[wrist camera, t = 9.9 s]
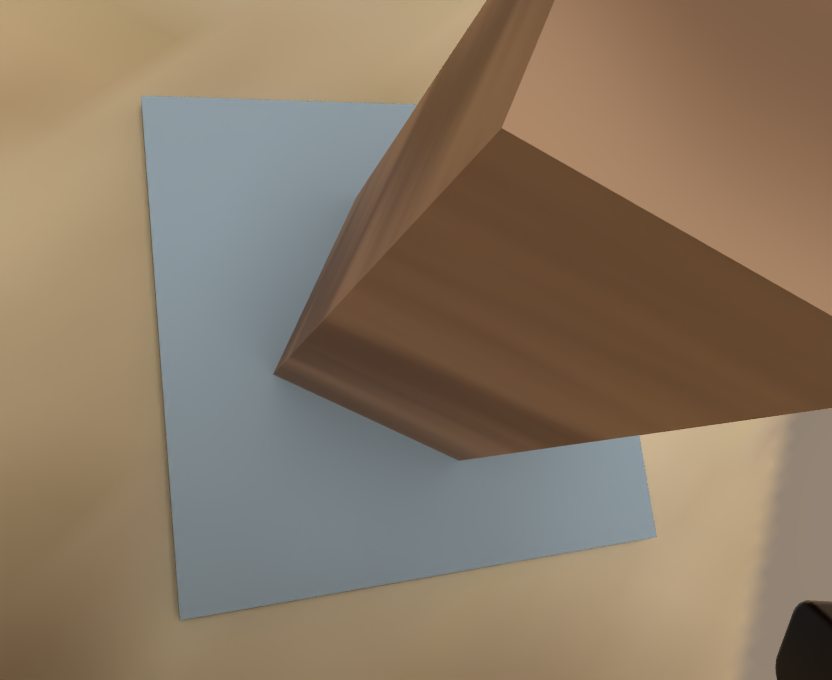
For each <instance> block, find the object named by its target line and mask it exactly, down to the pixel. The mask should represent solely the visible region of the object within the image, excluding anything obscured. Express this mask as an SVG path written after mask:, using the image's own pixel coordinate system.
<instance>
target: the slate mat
mask: <svg viewBox="0 0 832 680" xmlns="http://www.w3.org/2000/svg"><path fill="white" fill-rule="evenodd" d="M141 104H142V120H143V133H144V147H145V160H146V174H147V187H148V201H149V214H150V228H151V241H152V255H153V268H154V282H155V295H156V309H157V322H158V336H159V349H160V363H161V376H162V390H163V403H164V417H165V430H166V444H167V457H168V471H169V484H170V498H171V511H172V525H173V538H174V552H175V565H176V579H177V592H178V606H179V617H180V620H185V619H191V618H197V617H203V616H208V615H214V614H220V613H226V612H231V611H237V610H243V609H248V608H254V607H260V606H266V605H271V604H277V603H283V602H288V601H294V600H300V599H306V598H311V597H317V596H323V595H329V594H334V593H340V592H346V591H351V590H357V589H363V588H369V587H374V586H380V585H386V584H391V583H397V582H403V581H409V580H414V579H420V578H426V577H432V576H437V575H443V574H449V573H454V572H460V571H466V570H472V569H477V568H483V567H489V566H494V565H500V564H506V563H512V562H517V561H523V560H529V559H534V558H540V557H546V556H552V555H557V554H563V553H569V552H575V551H580V550H586V549H592V548H597V547H603V546H609V545H615V544H620V543H626V542H632V541H637V540H643V539H649V538H655V537H657V536H656V530H655V525H654V519H653V513H652V507H651V501H650V495H649V489H648V484H647V478H646V472H645V466H644V460H643V454H642V448H641V442H640V437H639V435H637V436H630V437H623V438H616V439H609V440H602V441H595V442H588V443H581V444H574V445H567V446H560V447H553V448H546V449H539V450H532V451H524V452H517V453H510V454H503V455H496V456H489V457H482V458H475V459H468V460H461V461H459V460H456V459H454V458H452V457H450V456H448V455H446V454H443V453H441V452H439V451H437V450H435V449H433V448H431V447H428V446H426V445H424V444H422V443H420V442H418V441H415V440H413V439H411V438H409V437H407V436H405V435H403V434H400V433H398V432H396V431H394V430H392V429H390V428H387V427H385V426H383V425H381V424H379V423H377V422H375V421H372V420H370V419H368V418H366V417H364V416H362V415H359V414H357V413H355V412H353V411H351V410H349V409H347V408H344V407H342V406H340V405H338V404H336V403H334V402H331V401H329V400H327V399H325V398H323V397H321V396H319V395H316V394H314V393H312V392H310V391H308V390H306V389H303V388H301V387H299V386H297V385H295V384H293V383H291V382H288V381H286V380H284V379H282V378H280V377H278V376H275V375H273V373H274V371H275V369H276V367H277V365H278V363H279V361H280V358H281V356H282V354H283V352H284V350H285V348H286V346H287V343H288V341H289V339H290V337H291V335H292V333H293V331H294V329H295V326H296V324H297V322H298V320H299V318H300V316H301V314H302V312H303V309H304V307H305V305H306V303H307V301H308V299H309V297H310V294H311V292H312V290H313V288H314V286H315V284H316V282H317V280H318V277H319V275H320V273H321V271H322V269H323V267H324V265H325V262H326V260H327V258H328V256H329V254H330V252H331V250H332V248H333V245H334V243H335V241H336V239H337V237H338V235H339V233H340V231H341V228H342V226H343V224H344V222H345V220H346V218H347V216H348V213H349V211H350V209H351V207H352V205H353V203H354V201H355V199H356V197H357V195H358V194H359V192H360V191H361V189H362V188H363V186H364V185H365V183H366V182H367V180H368V179H369V177H370V176H371V174H372V173H373V171H374V170H375V168H376V167H377V165H378V163H379V162H380V160H381V159H382V157H383V156H384V154H385V153H386V151H387V150H388V148H389V147H390V145H391V144H392V142H393V141H394V139H395V138H396V136H397V135H398V133H399V132H400V130H401V129H402V127H403V126H404V124H405V123H406V121H407V120H408V118H409V117H410V115H411V114H412V112H413V111H414V109H415V108H416V106H417V105H415V104H384V103H353V102H322V101H292V100H261V99H230V98H200V97H169V96H141Z"/></svg>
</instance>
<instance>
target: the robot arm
mask: <svg viewBox="0 0 832 680" xmlns="http://www.w3.org/2000/svg"><path fill="white" fill-rule="evenodd" d="M776 676H777V680H832V602H828V601H810V600H807V601H803V602H801V603H799V604H798V606H797V607H796V608H795V609H794V611H793V614H792V617H791V620H790V622H789V625H788V628H787V630H786V633H785V636H784V639H783V641H782V644H781V647H780V649H779V652H778V655H777V658H776Z"/></svg>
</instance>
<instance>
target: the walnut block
mask: <svg viewBox="0 0 832 680" xmlns="http://www.w3.org/2000/svg"><path fill="white" fill-rule="evenodd" d="M273 375H275V376H278V377H280V378H282V379H284V380H286V381H288V382H291V383H293V384H295V385H297V386H299V387H301V388H303V389H306V390H308V391H310V392H312V393H314V394H316V395H319V396H321V397H323V398H325V399H327V400H329V401H331V402H334V403H336V404H338V405H340V406H342V407H344V408H347V409H349V410H351V411H353V412H355V413H357V414H359V415H362V416H364V417H366V418H368V419H370V420H372V421H375V422H377V423H379V424H381V425H383V426H385V427H387V428H390V429H392V430H394V431H396V432H398V433H400V434H403V435H405V436H407V437H409V438H411V439H413V440H415V441H418V442H420V443H422V444H424V445H426V446H428V447H431V448H433V449H435V450H437V451H439V452H441V453H443V454H446V455H448V456H450V457H452V458H454V459H456V460H459V461H461V460H468V459H475V458H482V457H489V456H496V455H503V454H510V453H517V452H524V451H532V450H539V449H546V448H553V447H560V446H567V445H574V444H581V443H588V442H595V441H602V440H609V439H616V438H623V437H630V436H637V435H644V434H651V433H658V432H665V431H672V430H679V429H686V428H693V427H700V426H707V425H714V424H722V423H729V422H736V421H743V420H750V419H757V418H764V417H771V416H778V415H785V414H792V413H799V412H806V411H812V410H820V409H827V408H832V0H487V1H486V2H485V4H484V5H483V7H482V8H481V10H480V11H479V13H478V14H477V16H476V17H475V19H474V20H473V22H472V23H471V25H470V26H469V28H468V29H467V31H466V32H465V34H464V35H463V37H462V38H461V40H460V41H459V43H458V44H457V46H456V47H455V49H454V50H453V52H452V53H451V55H450V56H449V58H448V59H447V61H446V63H445V64H444V66H443V67H442V69H441V70H440V72H439V73H438V75H437V76H436V78H435V79H434V81H433V82H432V84H431V85H430V87H429V88H428V90H427V91H426V93H425V94H424V96H423V97H422V99H421V100H420V102H419V103H418V105H417V106H416V108H415V109H414V111H413V112H412V114H411V115H410V117H409V118H408V120H407V121H406V123H405V124H404V126H403V127H402V129H401V130H400V132H399V133H398V135H397V136H396V138H395V139H394V141H393V142H392V144H391V145H390V147H389V148H388V150H387V151H386V153H385V154H384V156H383V157H382V159H381V160H380V162H379V163H378V165H377V167H376V168H375V170H374V171H373V173H372V174H371V176H370V177H369V179H368V180H367V182H366V183H365V185H364V186H363V188H362V189H361V191H360V192H359V194H358V195H357V197H356V199H355V201H354V203H353V205H352V207H351V209H350V211H349V213H348V216H347V218H346V220H345V222H344V224H343V226H342V228H341V231H340V233H339V235H338V237H337V239H336V241H335V243H334V245H333V248H332V250H331V252H330V254H329V256H328V258H327V260H326V262H325V265H324V267H323V269H322V271H321V273H320V275H319V277H318V280H317V282H316V284H315V286H314V288H313V290H312V292H311V294H310V297H309V299H308V301H307V303H306V305H305V307H304V309H303V312H302V314H301V316H300V318H299V320H298V322H297V324H296V326H295V329H294V331H293V333H292V335H291V337H290V339H289V341H288V343H287V346H286V348H285V350H284V352H283V354H282V356H281V358H280V361H279V363H278V365H277V367H276V369H275V371H274V373H273Z"/></svg>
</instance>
